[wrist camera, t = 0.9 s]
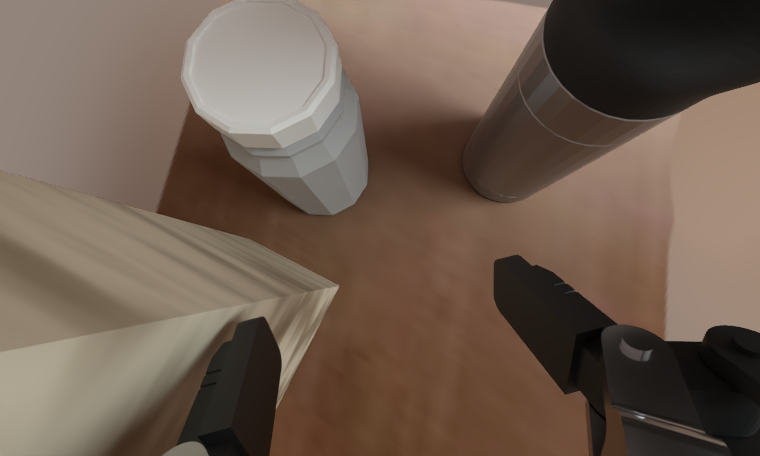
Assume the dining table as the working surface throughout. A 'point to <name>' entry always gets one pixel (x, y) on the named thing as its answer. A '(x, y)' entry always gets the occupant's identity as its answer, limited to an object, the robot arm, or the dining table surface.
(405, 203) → the dining table surface
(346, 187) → the jar
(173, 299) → the beige zigzag box
